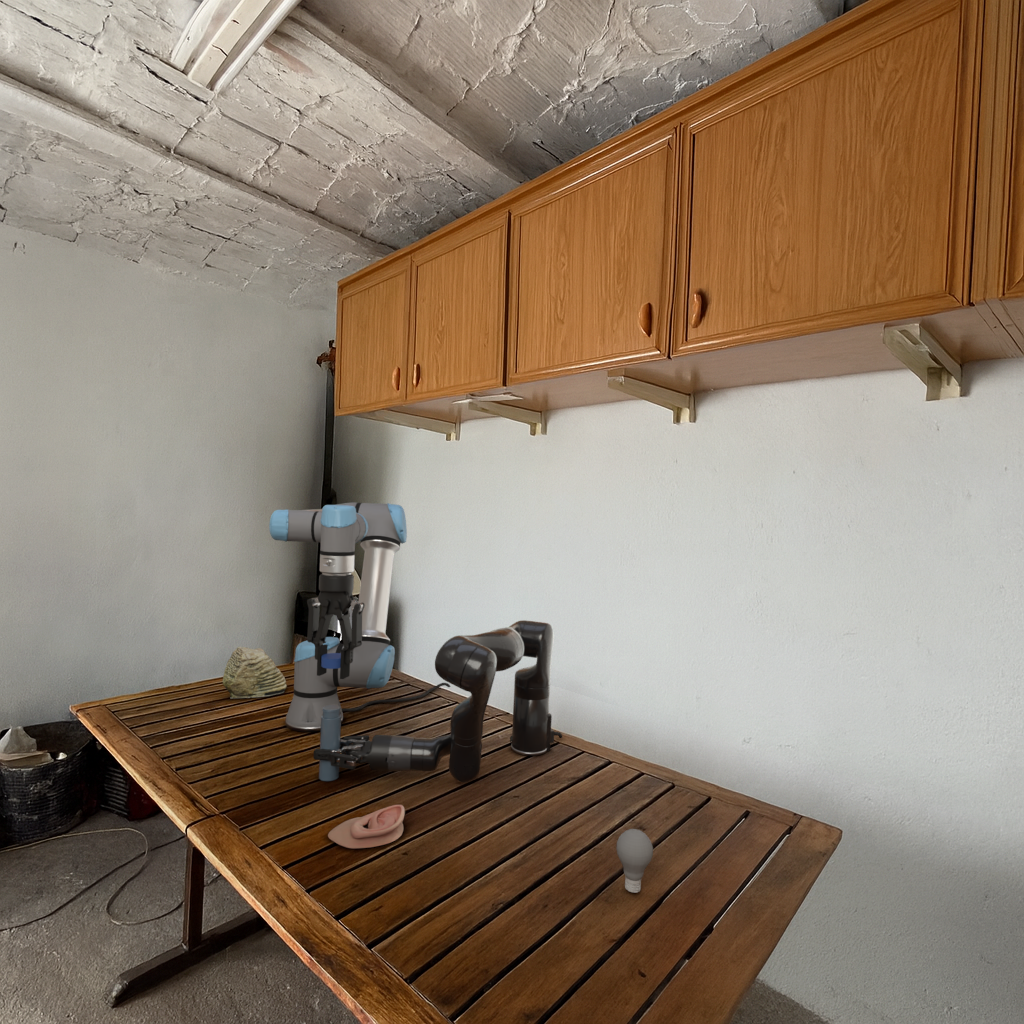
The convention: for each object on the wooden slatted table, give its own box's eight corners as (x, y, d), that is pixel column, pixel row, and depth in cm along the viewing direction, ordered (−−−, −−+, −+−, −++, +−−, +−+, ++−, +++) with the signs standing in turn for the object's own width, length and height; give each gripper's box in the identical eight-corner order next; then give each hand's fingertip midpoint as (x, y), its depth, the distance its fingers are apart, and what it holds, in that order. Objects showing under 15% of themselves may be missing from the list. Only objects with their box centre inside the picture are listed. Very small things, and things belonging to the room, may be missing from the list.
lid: (350, 664, 144) (350, 655, 144) (335, 670, 140) (335, 660, 140) (331, 661, 147) (332, 651, 146) (316, 666, 142) (316, 656, 142)
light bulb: (610, 879, 108) (613, 822, 108) (644, 879, 109) (647, 822, 109) (619, 902, 102) (622, 840, 102) (655, 901, 103) (658, 840, 103)
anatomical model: (320, 822, 115) (348, 794, 127) (319, 843, 116) (348, 813, 127) (388, 833, 113) (411, 803, 124) (387, 855, 113) (410, 823, 124)
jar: (342, 777, 143) (345, 708, 143) (324, 782, 140) (326, 711, 140) (333, 770, 146) (336, 702, 146) (315, 776, 143) (318, 706, 143)
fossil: (218, 695, 195) (220, 647, 195) (278, 685, 208) (279, 640, 207) (228, 703, 189) (230, 653, 188) (289, 692, 201) (290, 645, 201)
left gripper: (291, 572, 142) (288, 675, 142) (364, 578, 136) (360, 685, 137) (311, 568, 149) (308, 666, 149) (381, 574, 143) (377, 676, 144)
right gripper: (399, 725, 150) (327, 722, 150) (387, 749, 136) (307, 745, 136) (398, 756, 150) (326, 753, 150) (385, 783, 136) (306, 780, 136)
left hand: (333, 675), depth 143 cm, fingers closed on lid, 5 cm apart
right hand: (318, 749), depth 143 cm, fingers closed on jar, 4 cm apart
